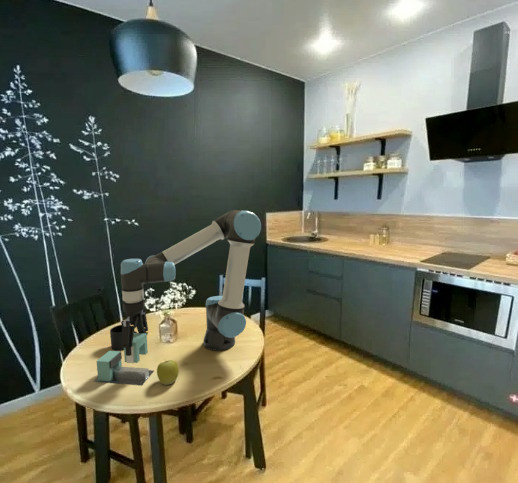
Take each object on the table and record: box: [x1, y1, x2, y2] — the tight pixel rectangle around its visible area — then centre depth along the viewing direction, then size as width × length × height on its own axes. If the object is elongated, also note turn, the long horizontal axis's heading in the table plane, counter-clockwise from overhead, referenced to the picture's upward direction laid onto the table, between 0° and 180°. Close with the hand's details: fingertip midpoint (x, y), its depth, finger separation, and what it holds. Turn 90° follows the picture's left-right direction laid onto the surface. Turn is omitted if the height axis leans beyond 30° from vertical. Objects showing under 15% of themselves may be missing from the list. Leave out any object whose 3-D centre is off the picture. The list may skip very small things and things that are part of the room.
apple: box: [156, 359, 180, 386], centre depth 118 cm, size 8×8×10 cm
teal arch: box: [123, 332, 149, 364], centre depth 120 cm, size 6×8×8 cm
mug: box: [109, 324, 138, 351], centre depth 147 cm, size 9×12×9 cm
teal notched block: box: [96, 350, 123, 381], centre depth 122 cm, size 6×8×8 cm
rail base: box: [92, 366, 155, 386], centre depth 122 cm, size 20×10×3 cm, turn 82°
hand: (136, 356), depth 120 cm, fingers closed on teal arch, 8 cm apart
